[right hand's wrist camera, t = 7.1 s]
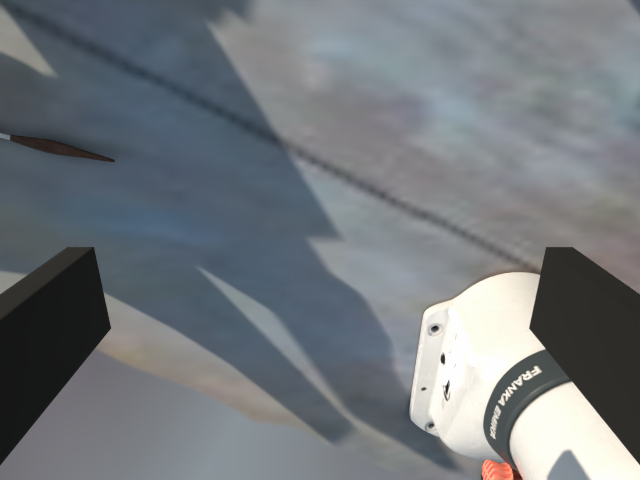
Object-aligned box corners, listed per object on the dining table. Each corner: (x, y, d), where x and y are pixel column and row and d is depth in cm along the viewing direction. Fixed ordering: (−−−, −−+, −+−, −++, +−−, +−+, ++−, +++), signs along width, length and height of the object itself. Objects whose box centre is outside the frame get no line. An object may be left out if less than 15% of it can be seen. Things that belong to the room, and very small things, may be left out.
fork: (116, 173, 40) (106, 178, 38) (-65, 133, 38) (-84, 136, 36) (118, 146, 39) (107, 149, 37) (-67, 103, 37) (-88, 105, 35)
